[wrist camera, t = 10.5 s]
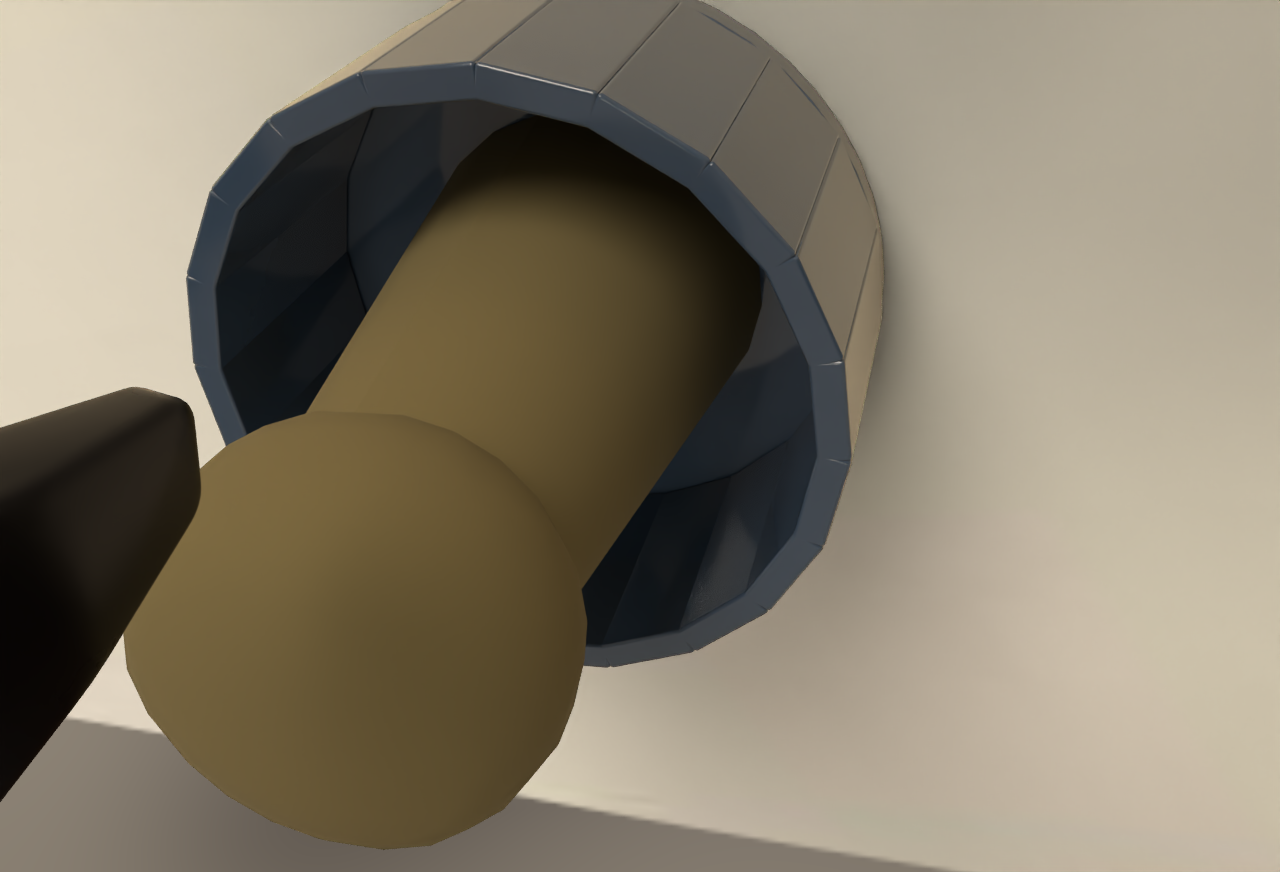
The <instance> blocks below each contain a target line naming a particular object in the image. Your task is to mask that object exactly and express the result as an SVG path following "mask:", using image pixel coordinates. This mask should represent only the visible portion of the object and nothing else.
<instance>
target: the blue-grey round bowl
mask: <svg viewBox="0 0 1280 872" xmlns="http://www.w3.org/2000/svg"><path fill="white" fill-rule="evenodd" d="M535 115H539V116H543V117H547V118H551V119H555V120H559V121H563V122H567V123H571V124H575V125H579V126H583V127H587V128H589V129H590V130H592V131H594V132H595V133H597V134H599V135H600V136H602V137H604V138H605V139H607V140H609V141H610V142H612V143H614V144H615V145H617V146H619V147H620V148H622V149H624V150H625V151H627V152H629V153H630V154H632V155H634V156H635V157H637V158H639V159H640V160H642V161H644V162H645V163H647V164H649V165H650V166H652V167H654V168H655V169H657V170H659V171H660V172H662V173H664V174H665V175H667V176H669V177H670V178H672V179H674V180H675V181H677V182H679V183H680V184H682V185H684V186H685V187H687V188H688V189H689V190H690V191H691V192H692V193H693V194H694V195H695V196H696V197H697V198H698V200H699V201H700V202H701V203H702V204H703V205H704V206H705V207H706V208H707V209H708V210H709V212H710V213H711V214H712V215H713V216H714V217H715V218H716V219H717V220H718V221H719V222H720V224H721V225H722V226H723V227H724V228H725V229H726V230H727V231H728V232H729V233H730V234H731V236H732V237H733V238H734V239H735V240H736V241H737V242H738V243H739V244H740V245H741V246H742V248H743V249H744V250H745V251H746V252H747V253H748V254H749V255H750V256H751V257H752V258H753V260H754V261H755V262H756V263H757V264H758V265H759V271H760V285H761V299H762V306H761V310H760V313H759V316H758V320H757V323H756V327H755V330H754V334H753V337H752V340H751V344H750V347H749V350H748V352H747V353H746V355H745V356H744V358H743V359H742V360H741V362H740V363H739V365H738V366H737V368H736V369H735V370H734V372H733V373H732V375H731V376H730V378H729V379H728V380H727V382H726V383H725V385H724V386H723V388H722V389H721V390H720V392H719V393H718V395H717V396H716V398H715V399H714V400H713V402H712V403H711V405H710V406H709V408H708V409H707V411H706V412H705V413H704V415H703V416H702V418H701V419H700V421H699V422H698V423H697V425H696V426H695V428H694V429H693V431H692V432H691V433H690V435H689V436H688V438H687V439H686V441H685V442H684V443H683V445H682V446H681V448H680V449H679V451H678V452H677V453H676V455H675V456H674V458H673V459H672V461H671V462H670V463H669V465H668V466H667V468H666V469H665V471H664V472H663V473H662V475H661V476H660V478H659V479H658V481H657V482H656V483H655V485H654V486H653V488H652V489H651V491H650V492H649V493H648V495H647V496H646V498H645V499H644V501H643V502H642V503H641V505H640V506H639V508H638V509H637V511H636V512H635V513H634V515H633V516H632V518H631V519H630V521H629V522H628V523H627V525H626V526H625V528H624V529H623V531H622V532H621V533H620V535H619V536H618V538H617V539H616V541H615V542H614V544H613V545H612V546H611V548H610V549H609V551H608V552H607V554H606V555H605V556H604V558H603V559H602V561H601V562H600V564H599V565H598V566H597V568H596V569H595V571H594V572H593V574H592V575H591V576H590V578H589V579H588V581H587V582H586V584H585V585H584V586H583V588H582V589H581V590H582V596H583V601H584V606H585V612H586V617H587V633H586V646H585V660H584V664H583V666H594V667H610V666H611V667H617V666H622V665H628V664H633V663H638V662H643V661H649V660H654V659H659V658H664V657H670V656H675V655H680V654H686V653H691V652H693V651H694V650H699V649H701V648H703V647H705V646H706V645H708V644H710V643H712V642H714V641H716V640H717V639H719V638H721V637H723V636H725V635H727V634H728V633H730V632H732V631H734V630H736V629H738V628H740V627H741V626H743V625H745V624H747V623H749V622H751V621H752V620H754V619H756V618H758V617H760V616H762V615H763V614H765V613H767V611H768V610H770V609H772V608H773V606H774V605H775V604H776V603H777V602H778V601H779V599H780V598H781V597H782V596H783V595H784V594H785V592H786V591H787V590H788V589H789V588H790V587H791V585H792V584H793V583H794V582H795V581H796V580H797V578H798V577H799V576H800V575H801V574H802V573H803V571H804V570H805V569H806V568H807V567H808V566H809V564H810V563H811V562H812V561H813V560H814V559H815V557H816V556H817V555H818V554H819V553H820V552H821V550H822V549H823V546H824V545H825V544H826V541H827V538H828V535H829V532H830V529H831V526H832V523H833V520H834V517H835V514H836V511H837V507H838V504H839V501H840V498H841V495H842V492H843V489H844V486H845V483H846V480H847V477H848V473H849V470H850V467H851V464H852V460H853V455H854V450H855V445H856V441H857V436H858V431H859V426H860V422H861V417H862V412H863V407H864V403H865V398H866V393H867V388H868V384H869V379H870V374H871V369H872V365H873V360H874V355H875V350H876V346H877V341H878V336H879V331H880V327H881V322H882V315H883V310H882V295H883V282H884V260H883V245H882V234H881V229H880V225H879V220H878V215H877V211H876V206H875V201H874V197H873V195H872V192H871V189H870V186H869V184H868V181H867V178H866V175H865V173H864V170H863V167H862V164H861V162H860V160H859V158H858V156H857V154H856V152H855V150H854V148H853V146H852V145H851V143H850V141H849V139H848V137H847V135H846V133H845V131H844V129H843V127H842V126H841V124H840V123H839V121H838V120H837V118H836V117H835V116H834V114H833V113H832V111H831V110H830V109H829V107H828V106H827V104H826V103H825V102H824V100H823V99H822V97H821V96H820V95H819V93H818V92H817V91H816V90H815V88H814V87H813V86H812V85H811V84H810V83H809V82H808V81H807V80H806V79H805V78H804V77H803V76H802V74H801V73H800V72H799V71H798V70H797V69H796V68H795V67H794V66H793V65H792V64H791V63H790V62H789V60H787V59H786V58H785V57H784V56H783V55H781V54H780V53H779V52H778V51H777V50H775V49H774V48H773V47H772V46H771V45H769V44H768V43H767V42H766V41H764V40H763V39H762V38H761V37H760V36H758V35H757V34H756V33H755V32H753V31H752V30H750V29H748V28H747V27H745V26H744V25H742V24H740V23H739V22H737V21H736V20H734V19H733V18H731V17H729V16H728V15H726V14H725V13H723V12H721V11H720V10H718V9H716V8H714V7H712V6H709V5H707V4H705V3H703V2H701V1H699V0H452V1H450V2H448V3H446V4H445V5H443V6H442V7H440V8H439V9H437V10H436V11H434V12H432V13H430V14H428V15H427V16H425V17H423V18H421V19H419V20H417V21H415V22H413V23H411V24H409V25H407V26H405V27H404V28H402V29H401V30H399V31H398V32H396V33H395V34H393V35H392V36H390V37H389V38H387V39H386V40H384V41H383V42H381V43H380V44H378V45H377V46H375V47H373V48H372V49H370V50H369V51H367V52H366V53H364V54H363V55H361V56H360V57H358V58H357V59H355V60H354V61H352V62H351V63H349V64H348V65H346V66H345V67H343V68H342V69H340V70H339V71H337V72H336V73H334V74H333V75H331V76H330V77H328V78H327V79H325V80H324V81H322V82H321V83H319V84H318V85H316V86H315V87H313V88H312V89H310V90H309V91H307V92H306V93H304V94H303V95H301V96H300V97H298V98H297V99H295V100H294V101H292V102H291V103H289V104H288V105H286V106H285V107H283V108H282V109H280V110H279V111H277V112H276V113H274V114H273V115H272V116H271V117H269V118H268V119H267V120H266V121H265V122H264V123H263V124H262V126H261V127H260V128H259V129H258V131H257V132H256V133H255V134H254V136H253V137H252V138H251V139H250V140H249V142H248V143H247V144H246V145H245V147H244V148H243V149H242V150H241V151H240V153H239V154H238V155H237V156H236V158H235V159H234V160H233V161H232V162H231V164H230V165H229V166H228V167H227V169H226V170H225V171H224V172H223V174H222V175H221V176H220V177H219V178H218V180H217V181H216V182H215V183H214V185H213V186H212V190H211V191H210V192H209V196H208V199H207V203H206V206H205V210H204V213H203V217H202V221H201V224H200V228H199V231H198V235H197V238H196V242H195V246H194V249H193V253H192V256H191V260H190V263H189V267H188V270H187V278H186V282H187V294H188V306H189V318H190V330H191V342H192V353H193V363H194V364H195V370H196V372H197V375H198V377H199V380H200V382H201V385H202V387H203V390H204V392H205V395H206V397H207V400H208V402H209V405H210V407H211V410H212V412H213V415H214V417H215V420H216V422H217V425H218V427H219V430H220V432H221V435H222V437H223V440H224V442H225V445H226V446H227V445H228V444H230V443H232V442H234V441H236V440H238V439H240V438H242V437H244V436H246V435H248V434H250V433H252V432H253V431H255V430H257V429H259V428H261V427H263V426H265V425H269V424H272V423H276V422H279V421H282V420H286V419H289V418H293V417H296V416H299V415H303V414H306V412H307V410H308V409H309V407H310V405H311V404H312V402H313V401H314V399H315V397H316V396H317V394H318V392H319V391H320V389H321V388H322V386H323V384H324V383H325V381H326V379H327V378H328V376H329V374H330V373H331V371H332V370H333V368H334V366H335V365H336V363H337V361H338V360H339V358H340V357H341V355H342V353H343V352H344V350H345V348H346V347H347V345H348V343H349V342H350V340H351V339H352V337H353V335H354V334H355V332H356V330H357V329H358V327H359V326H360V324H361V322H362V321H363V319H364V317H365V316H366V314H367V312H368V311H369V309H370V308H371V306H372V304H373V303H374V301H375V299H376V298H377V296H378V295H379V293H380V291H381V290H382V288H383V286H384V285H385V283H386V281H387V280H388V278H389V277H390V275H391V273H392V272H393V270H394V268H395V267H396V265H397V264H398V262H399V260H400V259H401V257H402V255H403V254H404V252H405V251H406V249H407V247H408V246H409V244H410V242H411V241H412V239H413V237H414V236H415V234H416V233H417V231H418V229H419V228H420V226H421V224H422V223H423V221H424V220H425V218H426V216H427V215H428V213H429V211H430V210H431V208H432V206H433V205H434V203H435V202H436V200H437V198H438V197H439V195H440V193H441V192H442V190H443V189H444V187H445V185H446V184H447V182H448V180H449V179H450V177H451V175H452V174H453V172H454V171H455V169H456V167H457V166H458V164H459V163H460V162H461V161H463V160H464V159H465V158H466V157H467V156H468V155H469V154H470V153H471V152H472V151H473V150H474V149H476V148H477V147H478V146H479V145H480V144H481V143H482V142H483V141H484V140H485V139H486V138H487V137H489V136H490V135H491V134H492V133H493V132H494V131H497V130H500V129H502V128H505V127H507V126H510V125H512V124H515V123H517V122H520V121H522V120H525V119H528V118H530V117H533V116H535Z"/></svg>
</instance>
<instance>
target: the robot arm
mask: <svg viewBox="0 0 1280 872" xmlns="http://www.w3.org/2000/svg"><path fill="white" fill-rule="evenodd" d="M200 497H201V476H200V467H199V458H198V448H197V439H196V430H195V421H194V416H193V412H192V410H191V408H190V406H189V405H188V404H187V403H186V402H184V401H183V400H182V399H180V398H177V397H173V396H170V395H166V394H163V393H160V392H156V391H153V390H149V389H146V388H140V387H130V388H126V389H122V390H119V391H116V392H113V393H110V394H107V395H103V396H100V397H97V398H94V399H91V400H88V401H84V402H81V403H78V404H75V405H72V406H68V407H65V408H62V409H59V410H56V411H53V412H49V413H46V414H43V415H40V416H37V417H33V418H30V419H27V420H24V421H21V422H18V423H14V424H11V425H8V426H5V427H2V428H0V802H1V801H2V799H3V798H4V797H5V795H6V794H7V792H8V791H9V790H10V789H11V788H12V786H13V785H14V784H15V782H16V781H17V780H18V779H19V777H20V776H21V775H22V773H23V772H24V771H25V770H26V768H27V767H28V766H29V764H30V763H31V762H32V760H33V759H34V758H35V757H36V755H37V754H38V753H39V751H40V750H41V749H42V748H43V746H44V745H45V744H46V742H47V741H48V740H49V738H50V737H51V736H52V735H53V733H54V732H55V731H56V729H57V728H58V727H59V726H60V724H61V723H62V722H63V720H64V719H65V718H66V717H67V715H68V714H69V713H70V711H71V710H72V709H73V707H74V706H75V705H76V703H77V702H78V701H79V699H80V698H81V697H82V695H83V694H84V692H85V691H86V690H87V688H88V687H89V686H90V684H91V683H92V681H93V680H94V678H95V677H96V675H97V674H98V672H99V671H100V669H101V668H102V666H103V665H104V663H105V662H106V660H107V659H108V657H109V656H110V654H111V652H112V651H113V649H114V648H115V646H116V644H117V643H118V641H119V639H120V638H121V636H122V634H123V633H124V631H125V630H126V628H127V626H128V625H129V623H130V621H131V620H132V618H133V617H134V615H135V613H136V612H137V610H138V608H139V607H140V605H141V604H142V602H143V600H144V599H145V597H146V595H147V594H148V592H149V590H150V589H151V587H152V586H153V584H154V582H155V581H156V579H157V577H158V576H159V574H160V573H161V571H162V569H163V568H164V566H165V564H166V563H167V561H168V560H169V558H170V556H171V555H172V553H173V551H174V550H175V548H176V546H177V545H178V543H179V542H180V540H181V538H182V537H183V535H184V533H185V532H186V530H187V529H188V527H189V525H190V524H191V522H192V520H193V518H194V516H195V514H196V511H197V509H198V506H199V502H200Z"/></svg>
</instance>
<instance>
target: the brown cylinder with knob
mask: <svg viewBox="0 0 1280 872" xmlns="http://www.w3.org/2000/svg"><path fill="white" fill-rule="evenodd" d="M761 306H762V299H761V285H760V271H759V265H758V264H757V263H756V262H755V261H754V260H753V258H752V257H751V256H750V255H749V254H748V253H747V252H746V251H745V250H744V249H743V248H742V246H741V245H740V244H739V243H738V242H737V241H736V240H735V239H734V238H733V237H732V236H731V234H730V233H729V232H728V231H727V230H726V229H725V228H724V227H723V226H722V225H721V224H720V222H719V221H718V220H717V219H716V218H715V217H714V216H713V215H712V214H711V213H710V212H709V210H708V209H707V208H706V207H705V206H704V205H703V204H702V203H701V202H700V201H699V200H698V198H697V197H696V196H695V195H694V194H693V193H692V192H691V191H690V190H689V189H688V188H687V187H685V186H684V185H682V184H680V183H679V182H677V181H675V180H674V179H672V178H670V177H669V176H667V175H665V174H664V173H662V172H660V171H659V170H657V169H655V168H654V167H652V166H650V165H649V164H647V163H645V162H644V161H642V160H640V159H639V158H637V157H635V156H634V155H632V154H630V153H629V152H627V151H625V150H624V149H622V148H620V147H619V146H617V145H615V144H614V143H612V142H610V141H609V140H607V139H605V138H604V137H602V136H600V135H599V134H597V133H595V132H594V131H592V130H590V129H589V128H587V127H583V126H579V125H575V124H571V123H567V122H563V121H559V120H555V119H551V118H547V117H543V116H539V115H535V116H533V117H530V118H528V119H525V120H522V121H520V122H517V123H515V124H512V125H510V126H507V127H505V128H502V129H500V130H497V131H494V132H493V133H492V134H491V135H490V136H489V137H487V138H486V139H485V140H484V141H483V142H482V143H481V144H480V145H479V146H478V147H477V148H476V149H474V150H473V151H472V152H471V153H470V154H469V155H468V156H467V157H466V158H465V159H464V160H463V161H461V162H460V163H459V164H458V166H457V167H456V169H455V171H454V172H453V174H452V175H451V177H450V179H449V180H448V182H447V184H446V185H445V187H444V189H443V190H442V192H441V193H440V195H439V197H438V198H437V200H436V202H435V203H434V205H433V206H432V208H431V210H430V211H429V213H428V215H427V216H426V218H425V220H424V221H423V223H422V224H421V226H420V228H419V229H418V231H417V233H416V234H415V236H414V237H413V239H412V241H411V242H410V244H409V246H408V247H407V249H406V251H405V252H404V254H403V255H402V257H401V259H400V260H399V262H398V264H397V265H396V267H395V268H394V270H393V272H392V273H391V275H390V277H389V278H388V280H387V281H386V283H385V285H384V286H383V288H382V290H381V291H380V293H379V295H378V296H377V298H376V299H375V301H374V303H373V304H372V306H371V308H370V309H369V311H368V312H367V314H366V316H365V317H364V319H363V321H362V322H361V324H360V326H359V327H358V329H357V330H356V332H355V334H354V335H353V337H352V339H351V340H350V342H349V343H348V345H347V347H346V348H345V350H344V352H343V353H342V355H341V357H340V358H339V360H338V361H337V363H336V365H335V366H334V368H333V370H332V371H331V373H330V374H329V376H328V378H327V379H326V381H325V383H324V384H323V386H322V388H321V389H320V391H319V392H318V394H317V396H316V397H315V399H314V401H313V402H312V404H311V405H310V407H309V409H308V410H307V412H306V414H303V415H299V416H296V417H293V418H289V419H286V420H282V421H279V422H276V423H272V424H269V425H265V426H263V427H261V428H259V429H257V430H255V431H253V432H252V433H250V434H248V435H246V436H244V437H242V438H240V439H238V440H236V441H234V442H232V443H230V444H228V445H227V446H226V447H225V448H224V449H223V450H221V451H220V452H219V453H218V454H217V455H216V456H214V457H213V458H212V459H211V460H210V461H209V462H207V463H206V464H205V465H204V466H203V467H202V468H200V476H201V497H200V502H199V506H198V509H197V511H196V514H195V516H194V518H193V520H192V522H191V524H190V525H189V527H188V529H187V530H186V532H185V533H184V535H183V537H182V538H181V540H180V542H179V543H178V545H177V546H176V548H175V550H174V551H173V553H172V555H171V556H170V558H169V560H168V561H167V563H166V564H165V566H164V568H163V569H162V571H161V573H160V574H159V576H158V577H157V579H156V581H155V582H154V584H153V586H152V587H151V589H150V590H149V592H148V594H147V595H146V597H145V599H144V600H143V602H142V604H141V605H140V607H139V608H138V610H137V612H136V613H135V615H134V617H133V618H132V620H131V621H130V623H129V625H128V626H127V628H126V630H125V631H124V633H123V634H124V644H125V654H126V664H127V670H128V672H129V674H130V677H131V679H132V681H133V683H134V685H135V687H136V689H137V692H138V694H139V696H140V698H141V700H142V702H143V704H144V706H145V709H146V711H147V713H148V714H149V716H150V717H151V718H152V719H153V720H154V722H155V723H156V724H157V725H158V727H159V728H160V729H161V730H162V732H163V733H164V734H165V735H166V736H167V738H168V739H169V740H170V741H171V743H172V744H173V745H174V746H175V748H176V749H177V750H178V751H179V752H180V754H181V755H182V756H183V757H184V758H185V760H186V761H187V762H188V763H189V764H190V765H191V766H192V767H193V768H195V769H196V770H197V771H198V772H199V773H201V774H202V775H203V776H204V777H205V778H207V779H208V780H209V781H210V782H211V783H213V784H214V785H215V786H216V787H217V788H219V789H220V790H221V791H222V792H223V793H225V794H226V795H227V796H228V797H230V798H232V799H234V800H236V801H237V802H239V803H241V804H242V805H244V806H246V807H248V808H249V809H251V810H253V811H255V812H256V813H258V814H260V815H262V816H263V817H265V818H267V819H268V820H270V821H272V822H274V823H277V824H280V825H283V826H286V827H289V828H291V829H294V830H297V831H299V832H302V833H305V834H308V835H310V836H313V837H316V838H318V839H322V840H327V841H332V842H338V843H345V844H351V845H357V846H364V847H370V848H376V849H383V850H385V849H397V848H408V847H420V846H431V845H433V844H435V843H438V842H440V841H442V840H445V839H447V838H449V837H451V836H454V835H456V834H458V833H460V832H463V831H465V830H467V829H469V828H471V827H473V826H475V825H476V824H478V823H480V822H482V821H484V820H485V819H487V818H489V817H491V816H493V815H494V814H496V813H498V812H500V811H502V810H503V809H504V808H505V807H506V806H507V805H508V804H509V803H510V802H511V800H512V799H513V798H514V797H515V796H516V795H517V793H518V792H519V791H520V790H521V789H522V788H523V786H524V785H525V784H526V783H527V782H528V781H529V780H530V778H531V777H532V776H533V775H534V774H535V772H536V771H537V770H538V769H539V768H540V766H541V765H542V764H543V763H544V761H545V760H546V759H547V758H548V757H549V755H550V754H551V753H552V752H553V750H554V749H555V748H556V747H557V746H558V744H559V742H560V739H561V737H562V734H563V732H564V729H565V727H566V724H567V722H568V719H569V717H570V714H571V711H572V709H573V706H574V702H575V698H576V694H577V689H578V685H579V681H580V677H581V673H582V668H583V664H584V660H585V646H586V633H587V617H586V612H585V606H584V601H583V596H582V590H581V589H582V588H583V586H584V585H585V584H586V582H587V581H588V579H589V578H590V576H591V575H592V574H593V572H594V571H595V569H596V568H597V566H598V565H599V564H600V562H601V561H602V559H603V558H604V556H605V555H606V554H607V552H608V551H609V549H610V548H611V546H612V545H613V544H614V542H615V541H616V539H617V538H618V536H619V535H620V533H621V532H622V531H623V529H624V528H625V526H626V525H627V523H628V522H629V521H630V519H631V518H632V516H633V515H634V513H635V512H636V511H637V509H638V508H639V506H640V505H641V503H642V502H643V501H644V499H645V498H646V496H647V495H648V493H649V492H650V491H651V489H652V488H653V486H654V485H655V483H656V482H657V481H658V479H659V478H660V476H661V475H662V473H663V472H664V471H665V469H666V468H667V466H668V465H669V463H670V462H671V461H672V459H673V458H674V456H675V455H676V453H677V452H678V451H679V449H680V448H681V446H682V445H683V443H684V442H685V441H686V439H687V438H688V436H689V435H690V433H691V432H692V431H693V429H694V428H695V426H696V425H697V423H698V422H699V421H700V419H701V418H702V416H703V415H704V413H705V412H706V411H707V409H708V408H709V406H710V405H711V403H712V402H713V400H714V399H715V398H716V396H717V395H718V393H719V392H720V390H721V389H722V388H723V386H724V385H725V383H726V382H727V380H728V379H729V378H730V376H731V375H732V373H733V372H734V370H735V369H736V368H737V366H738V365H739V363H740V362H741V360H742V359H743V358H744V356H745V355H746V353H747V352H748V350H749V347H750V344H751V340H752V337H753V334H754V330H755V327H756V323H757V320H758V316H759V313H760V310H761Z"/></svg>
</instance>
